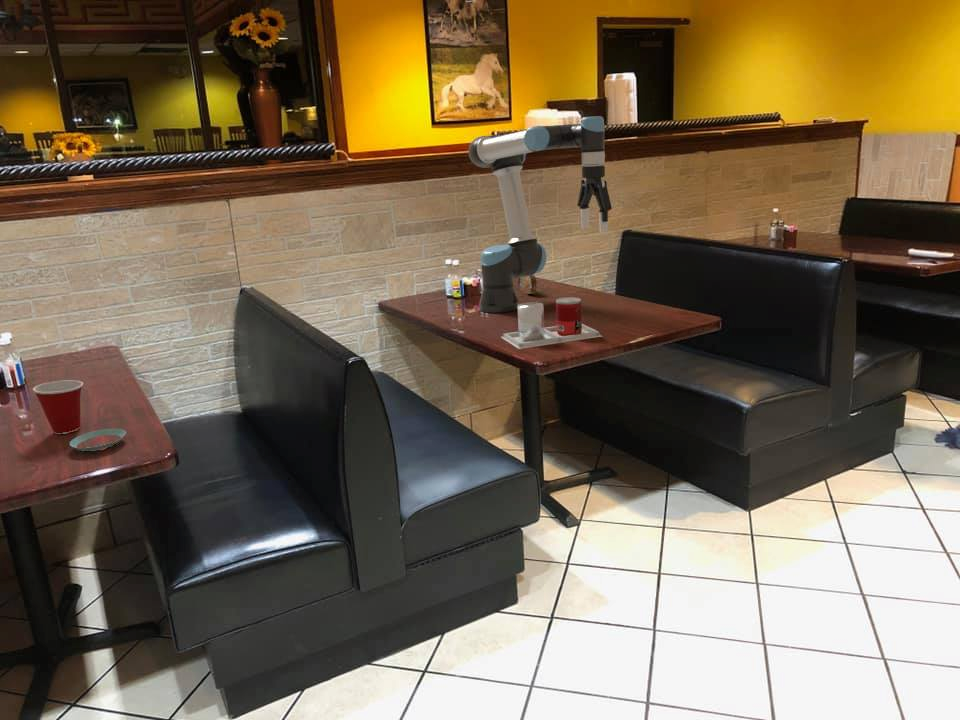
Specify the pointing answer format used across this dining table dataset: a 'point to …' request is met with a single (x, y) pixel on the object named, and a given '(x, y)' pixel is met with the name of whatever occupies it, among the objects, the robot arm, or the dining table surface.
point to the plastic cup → (61, 404)
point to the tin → (527, 284)
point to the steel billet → (531, 321)
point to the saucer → (93, 434)
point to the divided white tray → (550, 337)
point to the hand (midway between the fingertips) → (594, 229)
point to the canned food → (568, 316)
